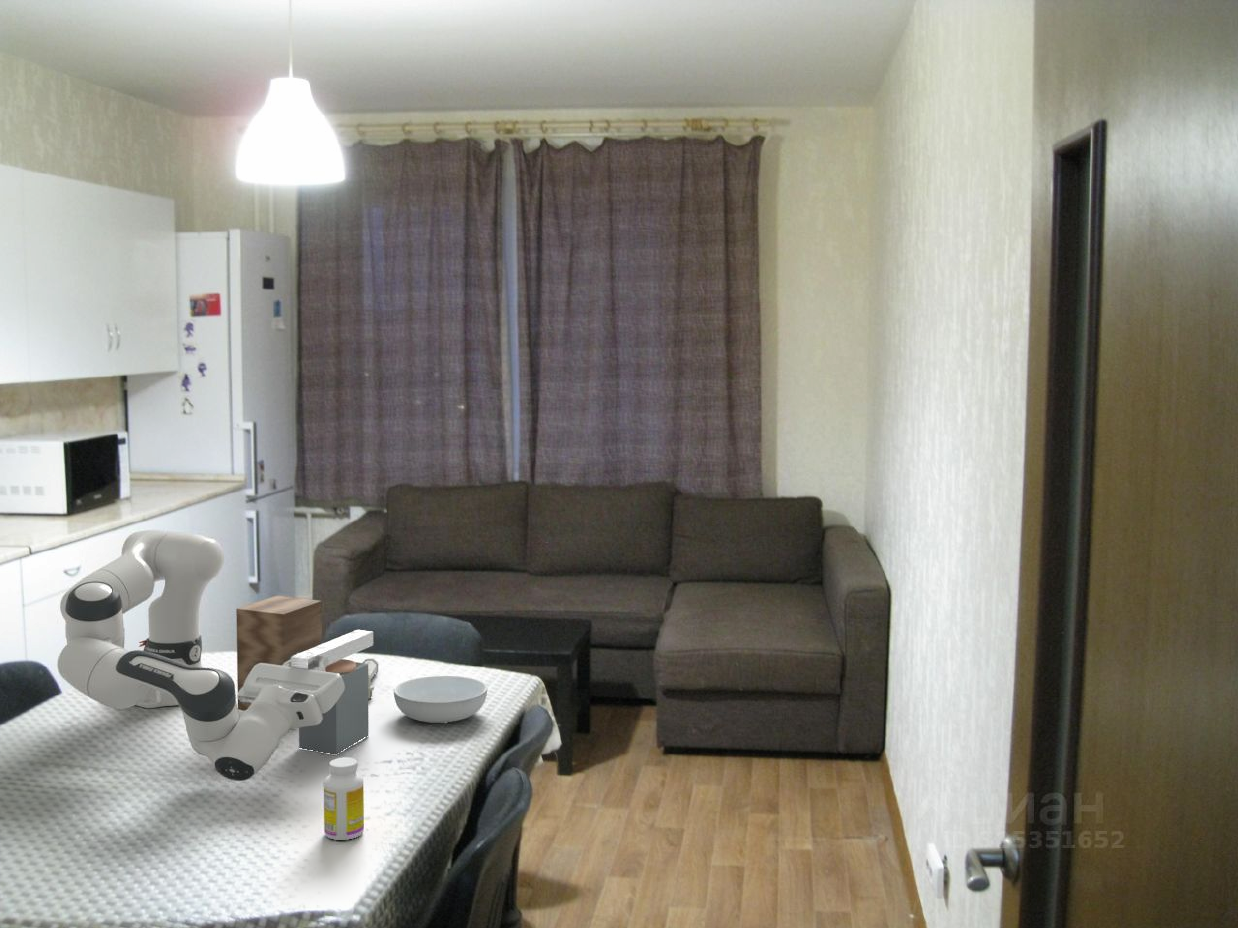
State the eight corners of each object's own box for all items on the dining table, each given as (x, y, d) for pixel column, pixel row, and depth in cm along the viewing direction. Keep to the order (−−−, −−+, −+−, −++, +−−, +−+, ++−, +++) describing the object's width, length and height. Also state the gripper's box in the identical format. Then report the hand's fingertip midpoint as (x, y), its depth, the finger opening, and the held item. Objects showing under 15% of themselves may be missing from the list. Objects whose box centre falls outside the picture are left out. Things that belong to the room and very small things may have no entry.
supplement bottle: (367, 826, 209) (366, 755, 207) (360, 842, 202) (359, 769, 201) (328, 826, 208) (328, 754, 207) (320, 842, 202) (319, 768, 200)
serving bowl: (495, 705, 278) (496, 676, 277) (475, 735, 257) (476, 704, 256) (408, 700, 280) (408, 672, 279) (381, 730, 259) (381, 699, 258)
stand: (238, 725, 259) (236, 608, 256) (277, 707, 272) (276, 595, 270) (284, 733, 255) (283, 614, 252) (322, 714, 268) (321, 600, 265)
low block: (299, 749, 246) (298, 669, 244) (332, 731, 257) (331, 655, 255) (336, 755, 243) (336, 674, 241) (368, 737, 254) (368, 660, 252)
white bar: (290, 671, 237) (290, 656, 237) (357, 643, 260) (357, 629, 259) (307, 673, 236) (307, 659, 236) (373, 645, 258) (373, 631, 258)
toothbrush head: (381, 657, 303) (372, 671, 278) (381, 683, 302) (372, 700, 278) (360, 657, 302) (349, 671, 277) (359, 683, 302) (349, 700, 277)
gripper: (238, 711, 236) (275, 662, 246) (326, 725, 229) (360, 674, 239) (227, 689, 232) (265, 639, 243) (317, 702, 225) (352, 651, 236)
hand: (313, 656), depth 241 cm, fingers closed on white bar, 4 cm apart
